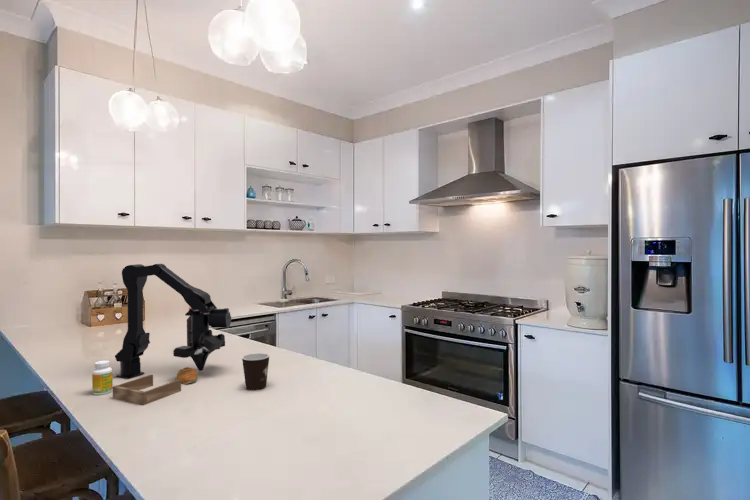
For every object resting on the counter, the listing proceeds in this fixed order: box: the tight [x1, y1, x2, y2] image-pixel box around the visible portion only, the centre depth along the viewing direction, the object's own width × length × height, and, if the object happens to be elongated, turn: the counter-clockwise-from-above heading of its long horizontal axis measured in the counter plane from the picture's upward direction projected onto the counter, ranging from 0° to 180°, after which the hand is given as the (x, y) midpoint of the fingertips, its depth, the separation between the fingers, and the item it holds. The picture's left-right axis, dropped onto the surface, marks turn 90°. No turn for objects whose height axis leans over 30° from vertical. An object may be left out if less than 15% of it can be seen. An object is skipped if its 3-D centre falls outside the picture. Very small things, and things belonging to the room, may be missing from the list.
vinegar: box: [186, 306, 199, 348], centre depth 180 cm, size 7×7×20 cm
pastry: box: [175, 367, 199, 385], centre depth 145 cm, size 9×7×4 cm
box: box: [112, 374, 182, 406], centre depth 132 cm, size 14×13×4 cm
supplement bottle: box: [91, 360, 114, 396], centre depth 134 cm, size 5×5×10 cm
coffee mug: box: [241, 352, 270, 391], centre depth 139 cm, size 12×9×10 cm
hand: (200, 370), depth 151 cm, fingers closed
